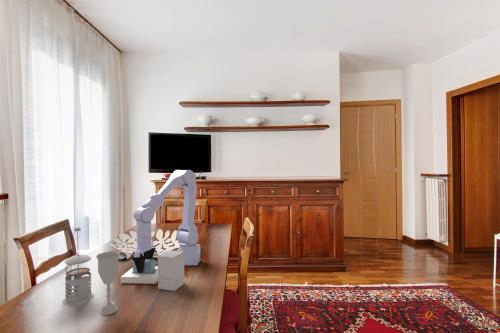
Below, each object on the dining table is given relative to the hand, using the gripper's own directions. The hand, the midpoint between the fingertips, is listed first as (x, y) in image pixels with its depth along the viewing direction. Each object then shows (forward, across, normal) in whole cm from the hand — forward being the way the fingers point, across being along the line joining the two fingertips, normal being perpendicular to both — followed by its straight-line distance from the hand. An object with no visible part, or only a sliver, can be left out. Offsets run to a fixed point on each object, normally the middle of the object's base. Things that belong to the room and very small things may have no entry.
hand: (144, 269), depth 119 cm
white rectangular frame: (+3, 0, 0) cm, 3 cm away
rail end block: (+3, 0, 0) cm, 4 cm away
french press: (+4, +19, -16) cm, 25 cm away
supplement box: (+4, +8, +14) cm, 17 cm away
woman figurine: (+4, -27, -20) cm, 33 cm away
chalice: (+4, +27, 0) cm, 27 cm away
